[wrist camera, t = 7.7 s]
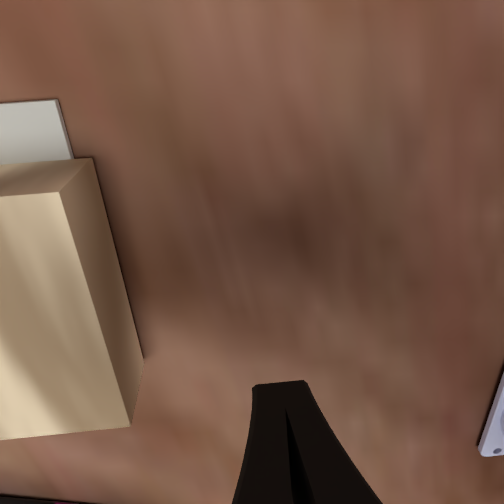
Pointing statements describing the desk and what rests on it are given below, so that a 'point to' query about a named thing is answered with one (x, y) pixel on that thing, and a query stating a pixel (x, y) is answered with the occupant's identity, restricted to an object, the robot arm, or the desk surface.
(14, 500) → the candy bar box
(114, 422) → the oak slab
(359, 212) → the desk surface
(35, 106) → the light grey flat panel
